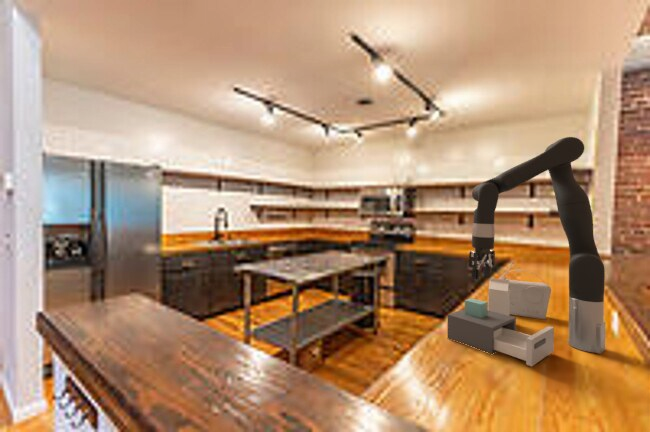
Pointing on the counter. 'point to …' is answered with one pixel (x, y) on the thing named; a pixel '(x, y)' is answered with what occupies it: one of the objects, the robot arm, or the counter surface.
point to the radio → (528, 298)
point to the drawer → (525, 344)
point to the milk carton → (499, 296)
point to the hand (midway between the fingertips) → (481, 278)
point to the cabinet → (478, 328)
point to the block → (476, 308)
